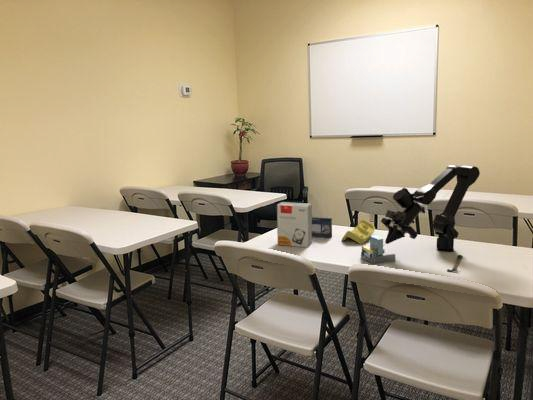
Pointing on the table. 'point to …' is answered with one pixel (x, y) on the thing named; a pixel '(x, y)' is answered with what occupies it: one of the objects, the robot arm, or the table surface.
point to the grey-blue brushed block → (375, 246)
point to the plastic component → (360, 232)
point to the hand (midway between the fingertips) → (386, 243)
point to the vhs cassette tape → (321, 227)
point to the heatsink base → (375, 258)
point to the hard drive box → (294, 224)
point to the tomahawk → (456, 264)
